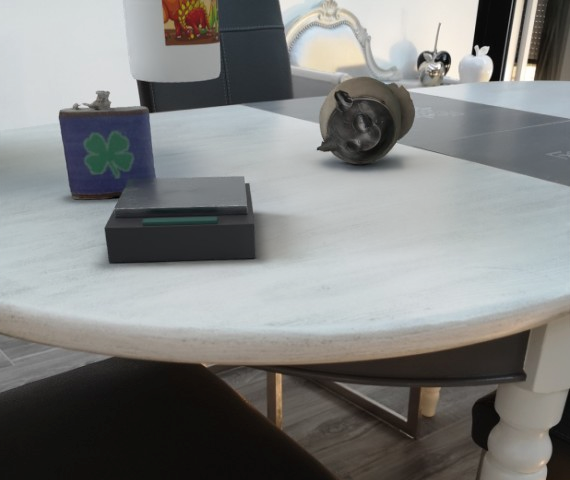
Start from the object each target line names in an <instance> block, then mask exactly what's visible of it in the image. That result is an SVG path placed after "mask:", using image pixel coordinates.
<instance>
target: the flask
mask: <svg viewBox="0 0 570 480" xmlns="http://www.w3.org/2000/svg"><path fill="white" fill-rule="evenodd" d="M95 94H96V95H97V96H96V99H95V100H94V101H93V102H91V103H88V102H82V103H81V104H80V103H78V102H75V103H74V104H73V105H72V107H68V108H67V107H65V108H63V109H62V108H61V109H59V111H58V122H59V128H60V135H61V141H62V147H63V153H64V159H65V167H66V173H67V181H68V186H69V191H70V193H71V198H72V199H74V200H75V199H77V200H97V199H109V198H115V197H118V198H120V196H121V194H122V192H123V190H124V188H125V186H126V184H127V183H128V181H129V179H140V178H157V176H156V167H155V158H154V151H153V141H152V131H151V129H152V128H151V121H150V110H149V109H150V108H148V107H147V106H143V105H134V106H116V107H111V104H112V101H111V100H109V97H110V94H111V92H110V91H109V90H95ZM82 105H83V106H86V107H81V106H82Z"/></svg>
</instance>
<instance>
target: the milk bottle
mask: <svg viewBox="0 0 570 480" xmlns="http://www.w3.org/2000/svg"><path fill="white" fill-rule="evenodd" d="M122 6H123V7H122V8H123V17H124V26H125V27H124V28H125V35H126V36H125V38H126V44H127V53H128V54H127V55H128V63H129V71H130V75H131V77H132V78H133V79H134V80H137V81H143V82H149V83H171V84H173V83H194V82H203V81H209V80H214V79H217V78H219V77H220V74H221V69H222V68H221V67H222V66H221V41H220V19H219V18H220V17H219V16H220V15H219V0H122Z"/></svg>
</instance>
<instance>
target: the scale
mask: <svg viewBox="0 0 570 480" xmlns="http://www.w3.org/2000/svg"><path fill="white" fill-rule="evenodd" d="M245 188H246V198H247V214H243V215H205V216H168V217H131V218H115V213H114V209H113V210H112V212H111V214H110V216H109V218H108V220H107V222H106V224H105V226H104V236H105V244H106V250H107V258H108V263H109V264H116V263H117V264H118V263H144V262H146V263H147V262H148V263H149V262H175V261H176V262H177V261H178V262H181V261H210V260H211V261H212V260H243V259H256V231H255V230H256V229H255V228H256V225H255V216H254V208H253V199H252V192H251V183H250V182H245Z"/></svg>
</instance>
